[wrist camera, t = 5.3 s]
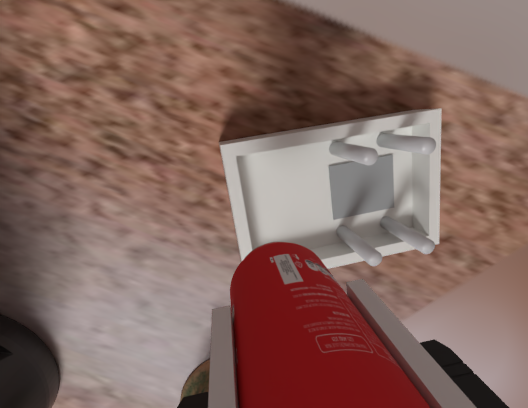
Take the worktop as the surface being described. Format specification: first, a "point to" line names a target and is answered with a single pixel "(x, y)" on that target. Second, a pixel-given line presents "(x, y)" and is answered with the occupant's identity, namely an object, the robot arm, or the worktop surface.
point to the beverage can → (307, 338)
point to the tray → (340, 187)
